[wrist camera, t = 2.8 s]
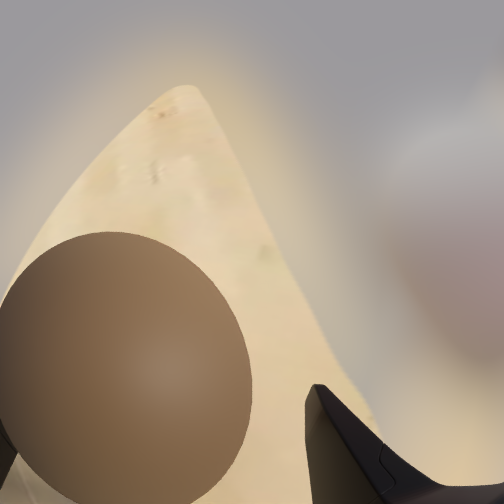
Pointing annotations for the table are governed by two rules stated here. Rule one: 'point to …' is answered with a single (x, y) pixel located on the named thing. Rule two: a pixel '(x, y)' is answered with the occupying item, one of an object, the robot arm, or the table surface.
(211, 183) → the table surface
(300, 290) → the table surface
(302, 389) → the table surface
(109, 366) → the walnut pin
